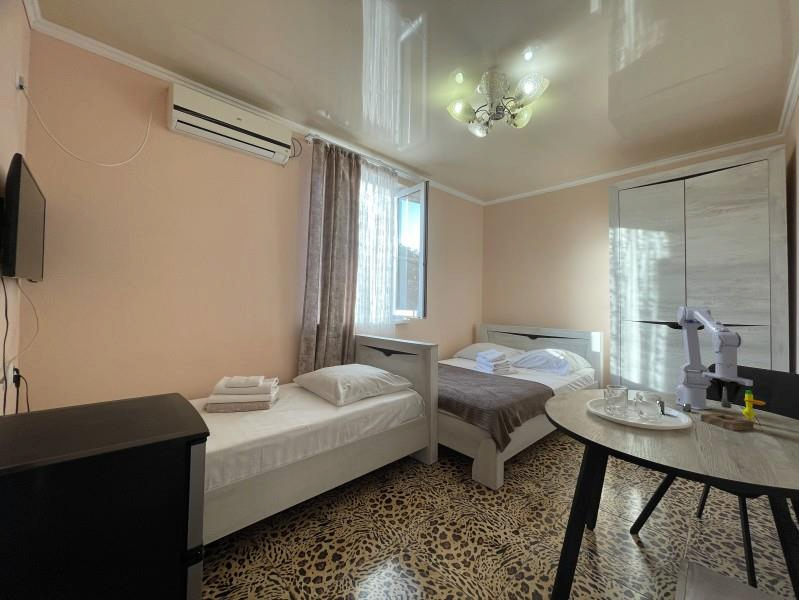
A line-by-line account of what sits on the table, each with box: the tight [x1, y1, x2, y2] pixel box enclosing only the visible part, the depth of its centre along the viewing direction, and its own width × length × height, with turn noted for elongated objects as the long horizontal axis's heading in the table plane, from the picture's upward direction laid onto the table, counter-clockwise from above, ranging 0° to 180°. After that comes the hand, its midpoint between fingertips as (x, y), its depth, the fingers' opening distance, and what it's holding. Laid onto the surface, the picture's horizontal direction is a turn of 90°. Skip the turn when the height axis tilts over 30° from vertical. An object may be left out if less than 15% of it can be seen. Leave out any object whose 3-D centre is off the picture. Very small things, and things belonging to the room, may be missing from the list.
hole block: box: [700, 412, 755, 431], centre depth 121 cm, size 10×10×2 cm
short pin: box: [682, 403, 692, 413], centre depth 136 cm, size 3×3×3 cm
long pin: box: [721, 386, 732, 409], centre depth 121 cm, size 3×3×8 cm
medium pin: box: [655, 399, 665, 415], centre depth 133 cm, size 3×3×5 cm
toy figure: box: [739, 390, 766, 425], centre depth 123 cm, size 7×4×12 cm, turn 29°
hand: (726, 400), depth 121 cm, fingers closed on long pin, 2 cm apart
